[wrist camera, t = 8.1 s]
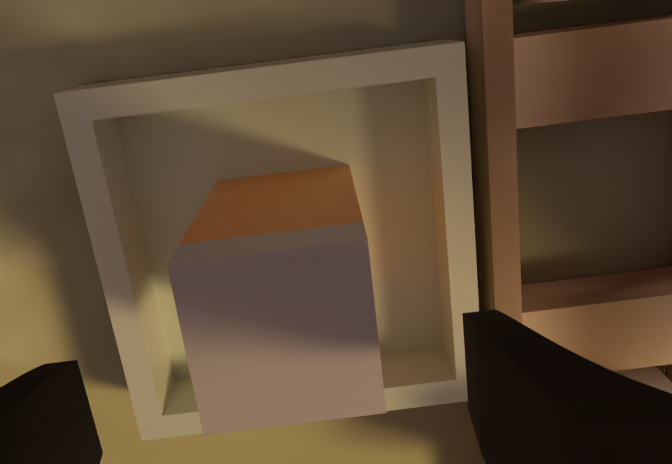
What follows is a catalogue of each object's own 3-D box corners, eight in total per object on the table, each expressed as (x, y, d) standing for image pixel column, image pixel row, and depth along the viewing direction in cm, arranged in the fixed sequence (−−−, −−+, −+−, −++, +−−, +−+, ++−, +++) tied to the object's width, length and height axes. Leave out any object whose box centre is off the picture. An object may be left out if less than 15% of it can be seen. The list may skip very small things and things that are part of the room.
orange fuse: (349, 164, 19) (367, 240, 13) (362, 286, 21) (386, 412, 14) (217, 180, 19) (166, 264, 13) (238, 301, 21) (203, 435, 14)
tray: (445, 39, 19) (464, 41, 16) (465, 358, 22) (484, 399, 20) (86, 84, 19) (53, 93, 16) (160, 396, 22) (141, 441, 20)
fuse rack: (727, -250, 17) (780, -284, 15) (681, 481, 24) (713, 520, 22) (452, -215, 17) (470, -245, 15) (490, 504, 24) (505, 545, 22)
